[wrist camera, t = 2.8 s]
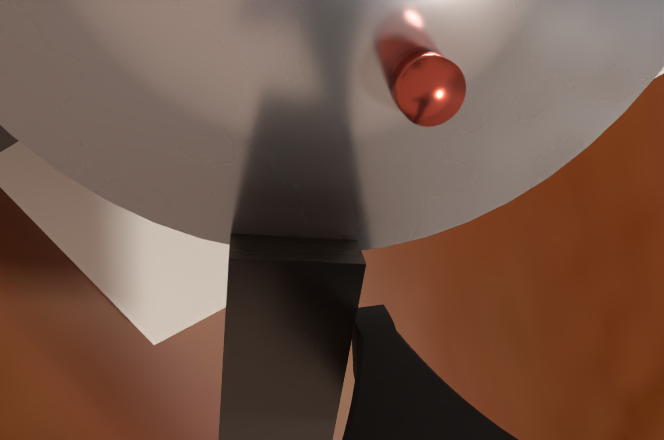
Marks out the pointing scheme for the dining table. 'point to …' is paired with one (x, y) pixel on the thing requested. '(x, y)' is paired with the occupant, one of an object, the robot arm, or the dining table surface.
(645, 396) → the dining table surface
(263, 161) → the lid
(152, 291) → the board
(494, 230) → the dining table surface
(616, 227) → the dining table surface
